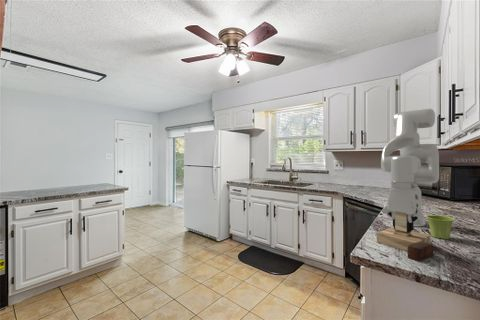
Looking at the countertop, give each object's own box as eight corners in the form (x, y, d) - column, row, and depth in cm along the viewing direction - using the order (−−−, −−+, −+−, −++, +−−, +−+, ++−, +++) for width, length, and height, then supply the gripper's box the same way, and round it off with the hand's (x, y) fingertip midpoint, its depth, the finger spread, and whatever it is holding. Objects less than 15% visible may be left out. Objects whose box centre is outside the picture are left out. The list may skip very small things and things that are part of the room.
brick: (420, 262, 77) (420, 249, 77) (407, 258, 80) (407, 245, 80) (434, 255, 82) (434, 243, 82) (421, 252, 85) (421, 239, 85)
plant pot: (420, 234, 104) (420, 215, 104) (437, 232, 106) (437, 214, 106) (443, 241, 95) (442, 221, 95) (460, 239, 97) (460, 219, 97)
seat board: (392, 235, 103) (391, 227, 103) (430, 245, 91) (430, 235, 91) (376, 242, 95) (376, 232, 95) (416, 253, 84) (416, 242, 84)
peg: (399, 237, 96) (399, 209, 96) (410, 240, 93) (410, 211, 93) (395, 239, 94) (394, 211, 94) (406, 242, 90) (406, 212, 90)
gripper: (431, 187, 88) (431, 233, 88) (384, 183, 102) (385, 224, 102) (423, 188, 84) (424, 237, 84) (376, 184, 98) (376, 227, 98)
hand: (402, 229), depth 93 cm, fingers closed on peg, 4 cm apart
